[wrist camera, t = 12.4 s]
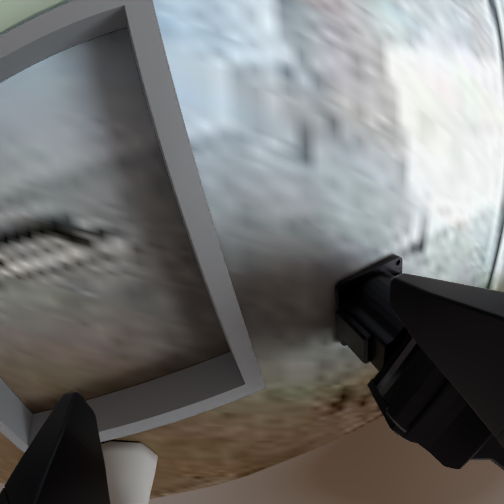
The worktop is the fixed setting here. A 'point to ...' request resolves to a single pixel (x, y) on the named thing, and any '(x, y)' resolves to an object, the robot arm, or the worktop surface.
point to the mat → (23, 11)
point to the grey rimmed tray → (192, 212)
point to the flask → (129, 471)
